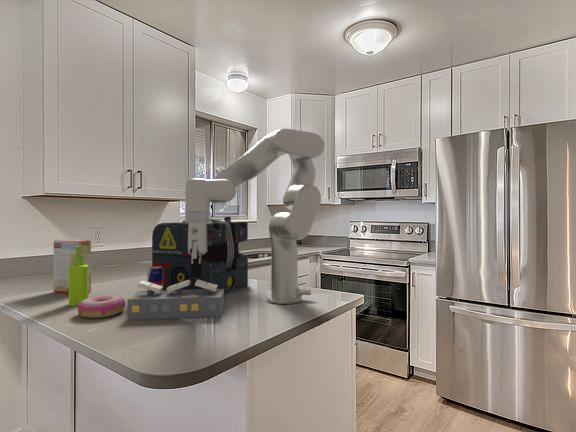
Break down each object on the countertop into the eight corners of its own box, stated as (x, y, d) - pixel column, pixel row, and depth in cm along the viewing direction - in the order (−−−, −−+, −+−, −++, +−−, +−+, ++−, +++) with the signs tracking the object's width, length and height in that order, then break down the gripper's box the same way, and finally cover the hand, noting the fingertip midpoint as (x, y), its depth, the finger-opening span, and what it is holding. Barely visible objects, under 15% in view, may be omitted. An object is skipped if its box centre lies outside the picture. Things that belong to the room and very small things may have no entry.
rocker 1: (162, 290, 113) (163, 285, 113) (158, 292, 109) (160, 288, 109) (141, 284, 112) (142, 279, 112) (137, 286, 108) (139, 282, 109)
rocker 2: (190, 282, 114) (189, 279, 114) (188, 285, 110) (187, 281, 110) (170, 289, 113) (169, 285, 113) (167, 292, 109) (166, 288, 109)
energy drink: (158, 303, 124) (157, 268, 124) (144, 302, 125) (144, 268, 125) (166, 299, 130) (166, 266, 129) (152, 298, 131) (152, 266, 131)
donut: (108, 306, 120) (108, 291, 120) (135, 311, 114) (135, 296, 114) (67, 316, 108) (67, 300, 108) (95, 323, 102) (95, 305, 102)
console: (223, 306, 119) (223, 284, 119) (220, 317, 107) (220, 292, 107) (140, 309, 116) (140, 286, 116) (127, 320, 104) (127, 294, 104)
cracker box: (92, 291, 143) (91, 239, 143) (78, 294, 137) (78, 240, 137) (67, 289, 148) (66, 238, 148) (52, 292, 142) (52, 239, 142)
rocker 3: (216, 288, 115) (217, 284, 115) (215, 291, 111) (216, 287, 111) (196, 282, 114) (197, 278, 114) (194, 285, 110) (196, 281, 110)
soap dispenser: (94, 303, 124) (93, 245, 124) (71, 306, 119) (71, 247, 119) (88, 300, 128) (88, 244, 128) (66, 303, 123) (66, 246, 123)
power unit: (151, 293, 140) (151, 217, 140) (195, 281, 165) (195, 216, 165) (211, 300, 129) (211, 217, 129) (248, 286, 154) (248, 216, 154)
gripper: (206, 218, 105) (205, 280, 105) (212, 218, 120) (211, 272, 120) (180, 218, 104) (179, 280, 104) (189, 217, 119) (188, 272, 119)
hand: (196, 276), depth 112 cm, fingers closed
